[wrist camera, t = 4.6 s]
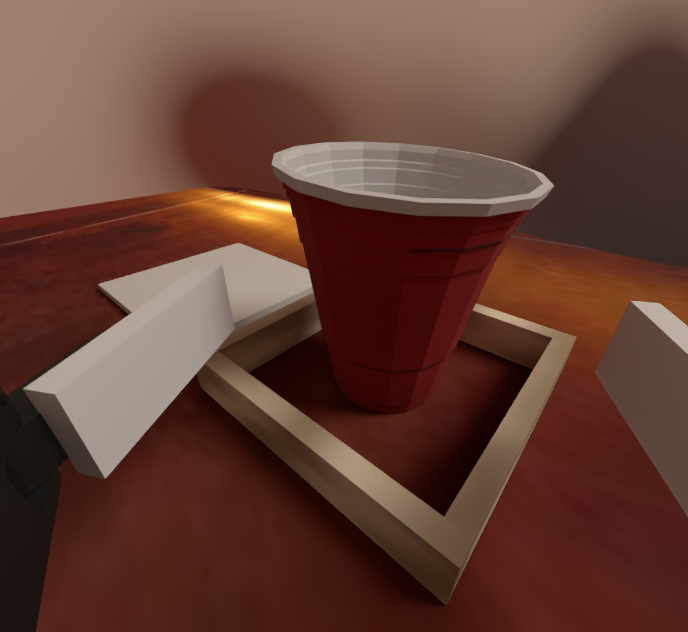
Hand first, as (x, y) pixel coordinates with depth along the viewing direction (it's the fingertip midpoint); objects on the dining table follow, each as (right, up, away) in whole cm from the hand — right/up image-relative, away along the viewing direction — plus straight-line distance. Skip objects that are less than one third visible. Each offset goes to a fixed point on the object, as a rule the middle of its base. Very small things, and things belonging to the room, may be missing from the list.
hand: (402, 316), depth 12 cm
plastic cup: (+1, -4, +8) cm, 9 cm away
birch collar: (+1, -4, +8) cm, 9 cm away
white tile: (-13, +3, +18) cm, 23 cm away
